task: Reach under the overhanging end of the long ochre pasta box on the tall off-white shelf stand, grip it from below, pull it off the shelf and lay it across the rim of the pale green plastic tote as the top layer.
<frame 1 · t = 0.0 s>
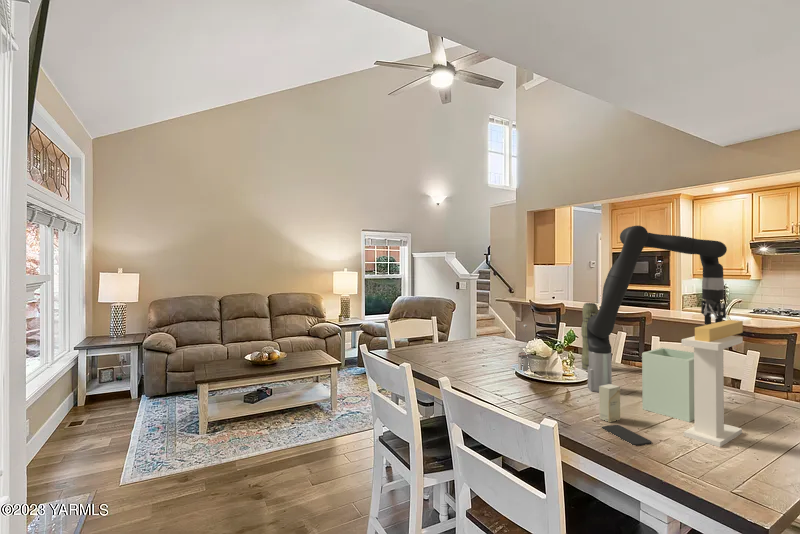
hand: (713, 326, 176), 29 cm above the table, tool pointing down, fingers open, 8 cm apart
phone: (625, 436, 137), on the table
pasta box: (719, 336, 139), point 32 cm above the table, touching shelf stand
shelf stand: (713, 434, 136), on the table
tote: (674, 410, 158), on the table
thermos: (590, 368, 221), on the table
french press: (525, 372, 215), on the table
skincare box: (609, 419, 151), on the table
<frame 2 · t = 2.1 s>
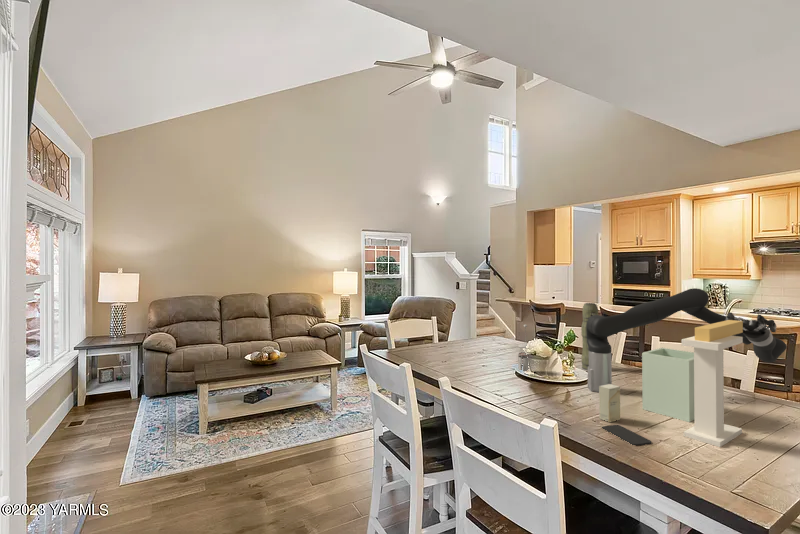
hand: (743, 315, 151), 37 cm above the table, tool pointing upward, fingers open, 8 cm apart
nothing on the table moved.
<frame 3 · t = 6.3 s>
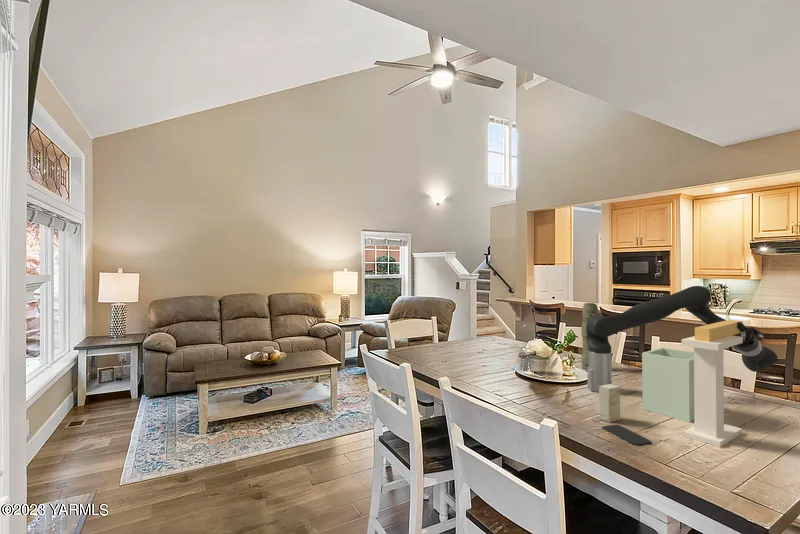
hand: (730, 323, 144), 35 cm above the table, tool pointing upward, fingers closed on pasta box, 4 cm apart
pasta box: (719, 336, 139), point 32 cm above the table, touching gripper, shelf stand
everything else where it was.
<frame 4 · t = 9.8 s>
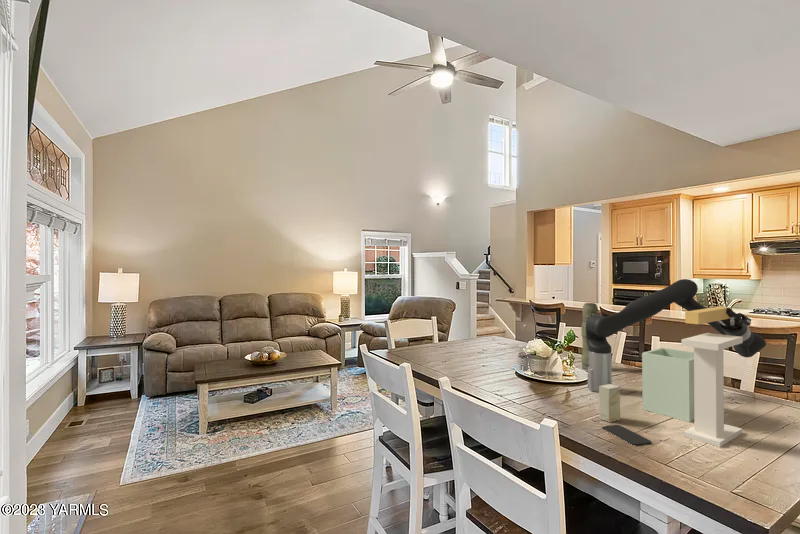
hand: (720, 309, 155), 39 cm above the table, tool pointing upward, fingers closed on pasta box, 4 cm apart
pasta box: (709, 320, 150), point 36 cm above the table, touching gripper
everything else where it was.
when the fingers open (27 cm above the table, at t = 13.4 s): pasta box drops 1 cm, resting on tote.
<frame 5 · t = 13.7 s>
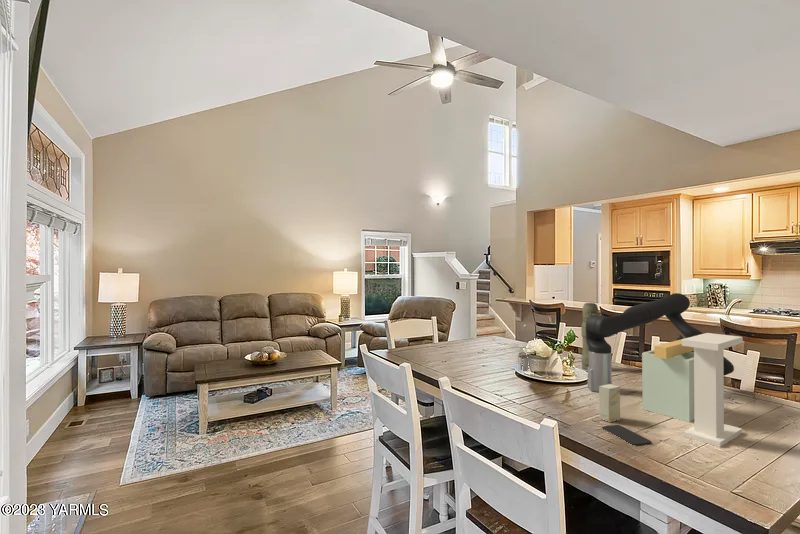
hand: (688, 338, 164), 27 cm above the table, tool pointing upward, fingers open, 6 cm apart
pasta box: (677, 352, 159), point 22 cm above the table, touching tote
everything else where it was.
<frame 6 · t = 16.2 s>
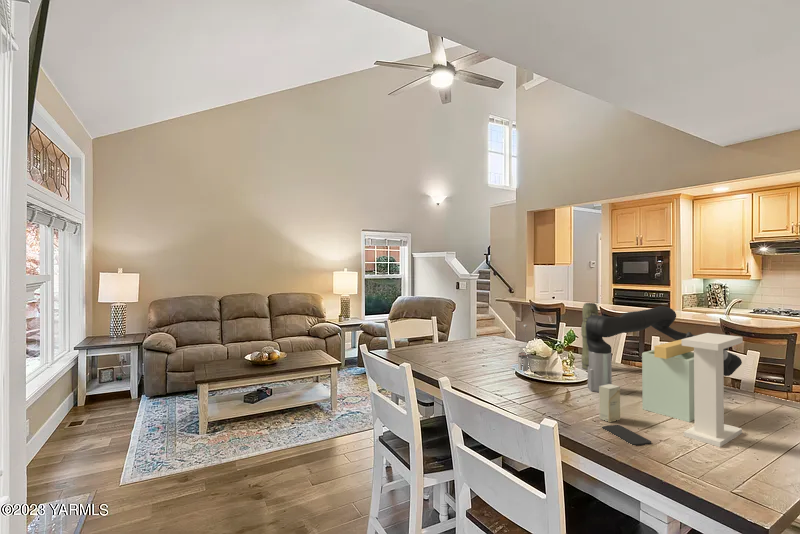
hand: (700, 335, 170), 27 cm above the table, tool pointing upward, fingers open, 8 cm apart
nothing on the table moved.
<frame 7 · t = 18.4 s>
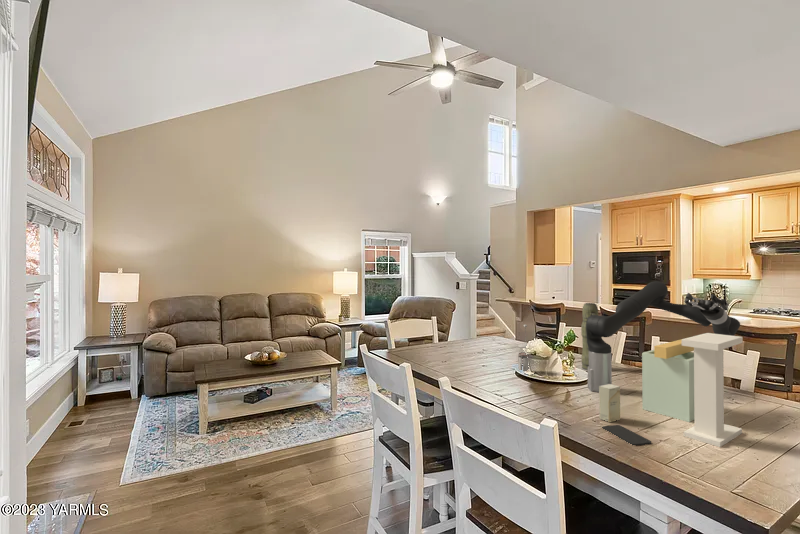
hand: (699, 295, 170), 43 cm above the table, tool pointing upward, fingers open, 8 cm apart
nothing on the table moved.
at the end: pasta box inside the target area on the tote (0.1 cm from its centre), point 22.0 cm above the tote's base; pasta box tilted 0°; the gripper is holding nothing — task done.
